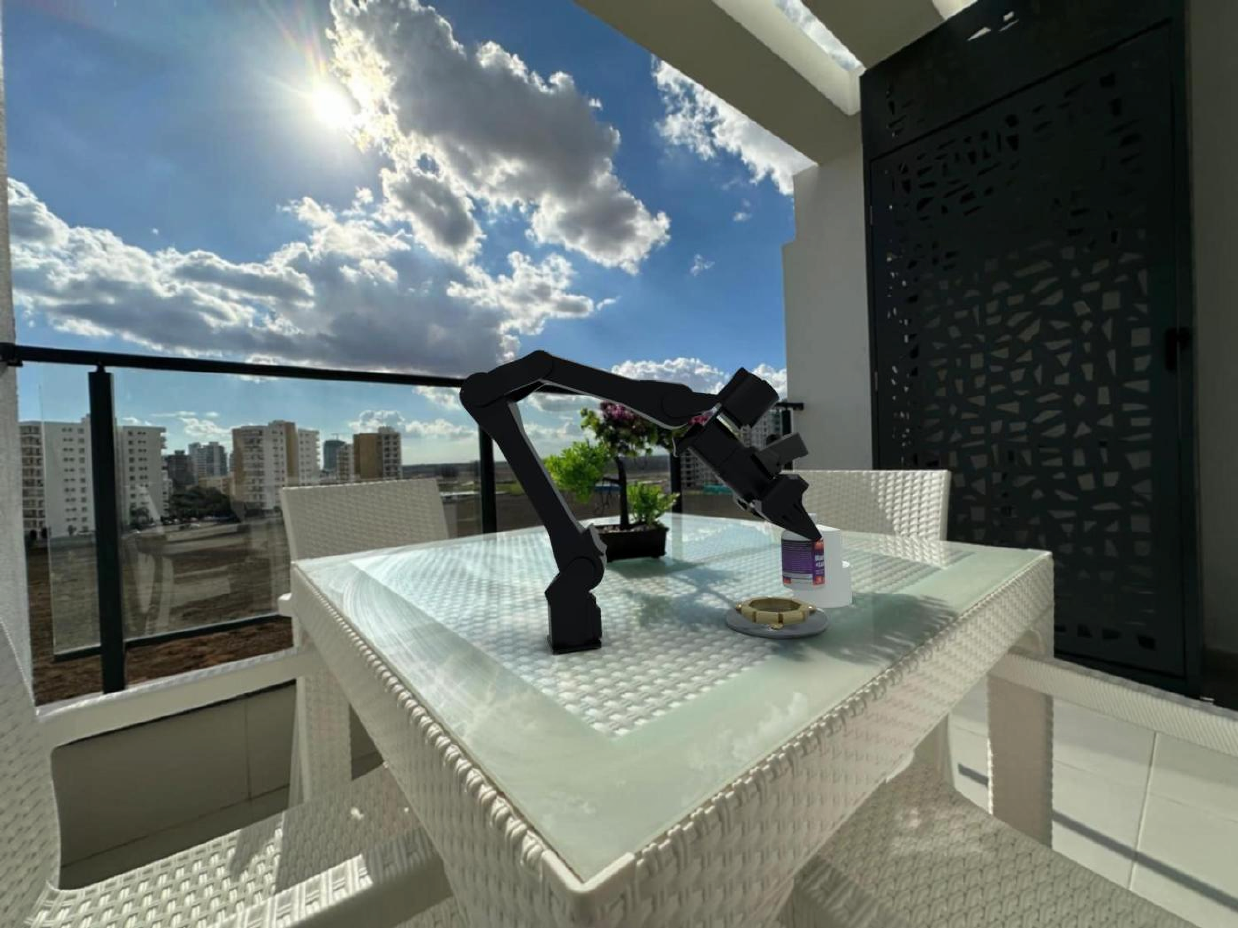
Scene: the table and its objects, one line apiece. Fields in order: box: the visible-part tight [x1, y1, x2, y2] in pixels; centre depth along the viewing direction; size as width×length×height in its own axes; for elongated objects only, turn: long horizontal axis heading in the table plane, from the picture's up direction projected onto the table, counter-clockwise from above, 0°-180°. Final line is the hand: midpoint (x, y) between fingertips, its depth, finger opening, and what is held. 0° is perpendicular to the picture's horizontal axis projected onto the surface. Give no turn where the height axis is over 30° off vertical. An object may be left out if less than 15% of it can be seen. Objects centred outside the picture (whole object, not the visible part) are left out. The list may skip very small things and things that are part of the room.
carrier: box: [725, 595, 829, 640], centre depth 75 cm, size 14×14×2 cm
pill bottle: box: [780, 512, 825, 591], centre depth 69 cm, size 5×5×10 cm
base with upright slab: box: [792, 523, 853, 609], centre depth 85 cm, size 9×9×12 cm
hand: (811, 536), depth 69 cm, fingers closed on pill bottle, 5 cm apart
